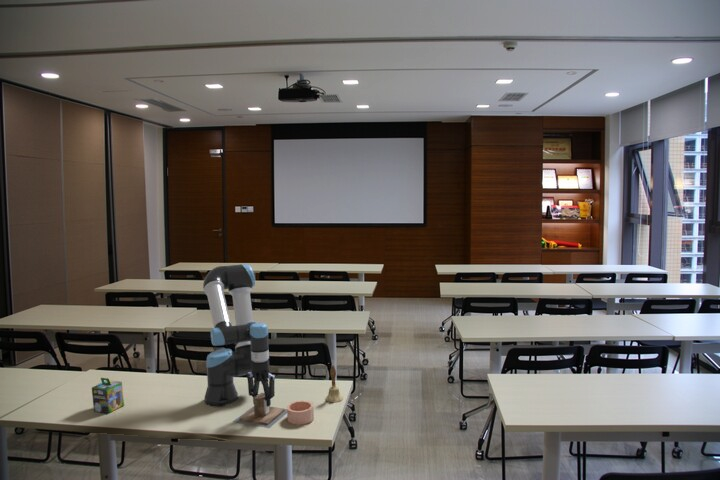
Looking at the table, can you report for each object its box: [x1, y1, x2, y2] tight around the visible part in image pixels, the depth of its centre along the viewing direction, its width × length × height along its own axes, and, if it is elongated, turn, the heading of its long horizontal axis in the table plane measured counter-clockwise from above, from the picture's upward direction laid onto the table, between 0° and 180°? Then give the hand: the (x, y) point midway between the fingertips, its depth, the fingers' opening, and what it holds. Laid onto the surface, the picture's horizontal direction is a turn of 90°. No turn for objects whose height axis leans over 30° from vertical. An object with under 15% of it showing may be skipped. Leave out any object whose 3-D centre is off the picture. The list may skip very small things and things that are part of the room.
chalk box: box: [91, 377, 125, 414], centre depth 226 cm, size 9×9×15 cm
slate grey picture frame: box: [232, 405, 287, 429], centre depth 215 cm, size 18×18×1 cm
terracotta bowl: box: [286, 400, 315, 426], centre depth 211 cm, size 11×11×6 cm
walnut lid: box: [239, 392, 286, 425], centre depth 214 cm, size 14×14×9 cm
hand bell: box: [324, 365, 344, 404], centre depth 231 cm, size 8×8×16 cm
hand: (262, 412), depth 214 cm, fingers closed on walnut lid, 4 cm apart
